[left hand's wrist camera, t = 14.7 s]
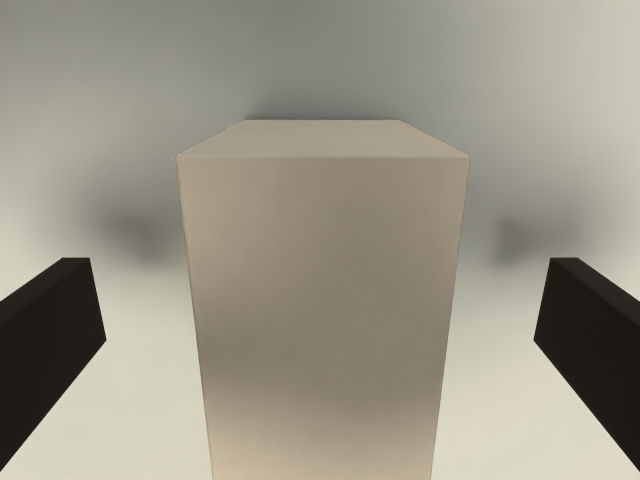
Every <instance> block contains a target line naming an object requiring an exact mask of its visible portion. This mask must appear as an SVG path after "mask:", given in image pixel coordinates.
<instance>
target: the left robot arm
mask: <svg viewBox="0 0 640 480" xmlns="http://www.w3.org/2000/svg"><path fill="white" fill-rule="evenodd" d="M105 342H106V335H105V330H104V325H103V321H102V316H101V311H100V306H99V301H98V296H97V292H96V287H95V282H94V277H93V272H92V268H91V263H90V258H61V259H60V260H59V261H57V262H56V263H54V264H53V265H51V266H50V267H49V268H47V269H46V270H44V271H43V272H42V273H40V274H39V275H37V276H36V277H34V278H33V279H32V280H30V281H29V282H27V283H26V284H25V285H23V286H22V287H20V288H19V289H17V290H16V291H15V292H13V293H12V294H10V295H9V296H8V297H6V298H5V299H3V300H2V301H0V471H1V470H2V469H3V468H4V467H5V465H6V464H7V463H8V462H9V460H10V459H11V458H12V457H13V455H14V454H15V453H16V452H17V450H18V449H19V448H20V447H21V446H22V444H23V443H24V442H25V441H26V439H27V438H28V437H29V436H30V434H31V433H32V432H33V431H34V429H35V428H36V427H37V426H38V424H39V423H40V422H41V421H42V420H43V418H44V417H45V416H46V415H47V413H48V412H49V411H50V410H51V408H52V407H53V406H54V405H55V403H56V402H57V401H58V400H59V398H60V397H61V396H62V395H63V394H64V392H65V391H66V390H67V389H68V387H69V386H70V385H71V384H72V382H73V381H74V380H75V379H76V377H77V376H78V375H79V374H80V372H81V371H82V370H83V369H84V368H85V366H86V365H87V364H88V363H89V361H90V360H91V359H92V358H93V356H94V355H95V354H96V353H97V351H98V350H99V349H100V348H101V346H102V345H103V344H104V343H105ZM534 342H535V343H536V344H537V345H538V346H539V348H540V349H541V350H542V351H543V353H544V354H545V355H546V356H547V358H548V359H549V360H550V361H551V363H552V364H553V365H554V366H555V368H556V369H557V370H558V371H559V372H560V374H561V375H562V376H563V377H564V379H565V380H566V381H567V382H568V384H569V385H570V386H571V387H572V389H573V390H574V391H575V392H576V394H577V395H578V396H579V397H580V398H581V400H582V401H583V402H584V403H585V405H586V406H587V407H588V408H589V410H590V411H591V412H592V413H593V415H594V416H595V417H596V418H597V420H598V421H599V422H600V423H601V424H602V426H603V427H604V428H605V429H606V431H607V432H608V433H609V434H610V436H611V437H612V438H613V439H614V441H615V442H616V443H617V444H618V446H619V447H620V448H621V449H622V450H623V452H624V453H625V454H626V455H627V457H628V458H629V459H630V460H631V462H632V463H633V464H634V465H635V467H636V468H637V469H638V470H639V472H640V301H638V300H637V299H635V298H634V297H632V296H631V295H630V294H628V293H627V292H625V291H624V290H623V289H621V288H620V287H618V286H617V285H615V284H614V283H613V282H611V281H610V280H608V279H607V278H606V277H604V276H603V275H601V274H600V273H598V272H597V271H596V270H594V269H593V268H591V267H590V266H589V265H587V264H586V263H584V262H583V261H581V260H580V259H579V258H550V263H549V268H548V272H547V277H546V282H545V287H544V292H543V296H542V301H541V306H540V311H539V316H538V321H537V325H536V330H535V335H534Z"/></svg>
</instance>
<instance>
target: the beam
mask: <svg viewBox="0 0 640 480" xmlns="http://www.w3.org/2000/svg"><path fill="white" fill-rule="evenodd" d="M469 161H470V157H469V155H468V154H466V153H464V152H462V151H460V150H458V149H456V148H454V147H452V146H450V145H448V144H446V143H444V142H442V141H440V140H438V139H436V138H434V137H432V136H430V135H428V134H426V133H424V132H422V131H420V130H418V129H416V128H414V127H412V126H411V125H409V124H407V123H405V122H403V121H401V120H243V121H241V122H239V123H237V124H235V125H233V126H231V127H229V128H227V129H225V130H223V131H221V132H219V133H217V134H216V135H214V136H212V137H210V138H208V139H206V140H204V141H202V142H200V143H198V144H196V145H194V146H192V147H190V148H189V149H187V150H185V151H183V152H181V153H179V154H177V155H176V167H177V175H178V184H179V192H180V201H181V210H182V218H183V227H184V235H185V244H186V253H187V261H188V270H189V279H190V287H191V296H192V304H193V313H194V322H195V330H196V339H197V348H198V356H199V365H200V373H201V382H202V391H203V399H204V408H205V417H206V425H207V434H208V442H209V451H210V460H211V468H212V477H213V480H431V473H432V464H433V456H434V448H435V440H436V432H437V423H438V415H439V407H440V399H441V390H442V382H443V374H444V366H445V358H446V349H447V341H448V333H449V325H450V317H451V308H452V300H453V292H454V284H455V276H456V267H457V259H458V251H459V243H460V234H461V226H462V218H463V210H464V202H465V193H466V185H467V177H468V169H469Z"/></svg>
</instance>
